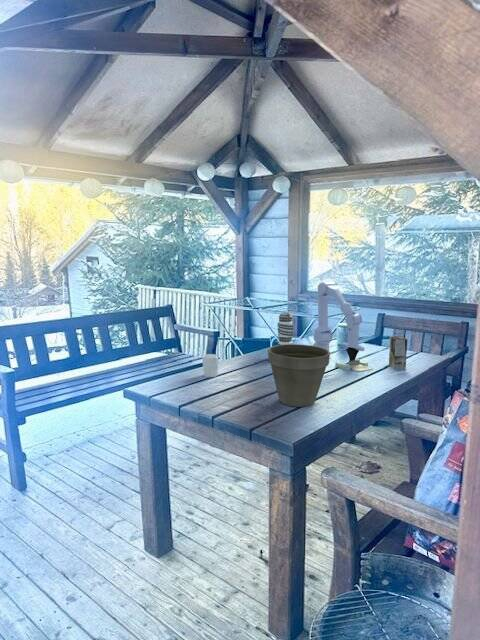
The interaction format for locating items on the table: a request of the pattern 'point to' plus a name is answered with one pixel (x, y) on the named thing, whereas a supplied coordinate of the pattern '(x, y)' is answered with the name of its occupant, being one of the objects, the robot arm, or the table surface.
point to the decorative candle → (285, 329)
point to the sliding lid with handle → (358, 366)
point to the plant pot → (298, 372)
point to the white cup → (210, 365)
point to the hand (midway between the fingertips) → (352, 362)
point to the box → (346, 366)
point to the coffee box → (398, 352)
